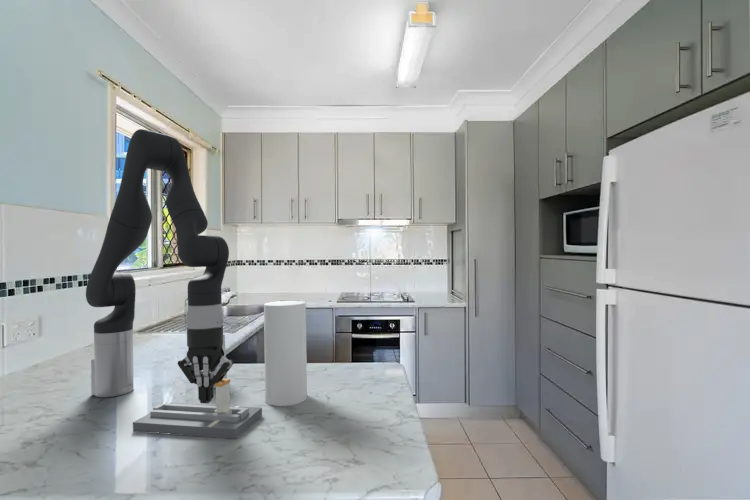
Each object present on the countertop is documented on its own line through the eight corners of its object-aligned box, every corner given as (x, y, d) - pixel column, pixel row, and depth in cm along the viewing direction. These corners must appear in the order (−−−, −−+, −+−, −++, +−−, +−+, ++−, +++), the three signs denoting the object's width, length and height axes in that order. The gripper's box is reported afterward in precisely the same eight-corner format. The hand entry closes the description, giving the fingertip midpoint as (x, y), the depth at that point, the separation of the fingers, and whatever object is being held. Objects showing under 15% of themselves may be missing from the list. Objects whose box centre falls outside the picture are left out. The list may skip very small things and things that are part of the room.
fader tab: (212, 418, 91) (212, 383, 91) (221, 412, 94) (220, 378, 94) (225, 418, 90) (224, 383, 90) (233, 412, 93) (232, 379, 93)
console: (132, 431, 89) (132, 415, 89) (170, 410, 101) (170, 396, 101) (235, 438, 85) (235, 422, 85) (262, 416, 97) (261, 401, 97)
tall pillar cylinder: (256, 403, 105) (255, 304, 106) (280, 390, 115) (279, 300, 115) (292, 408, 101) (291, 306, 102) (314, 394, 111) (313, 301, 112)
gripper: (167, 327, 90) (168, 406, 90) (222, 328, 88) (224, 410, 88) (189, 321, 98) (190, 395, 98) (240, 322, 95) (241, 398, 95)
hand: (206, 402), depth 93 cm, fingers closed
